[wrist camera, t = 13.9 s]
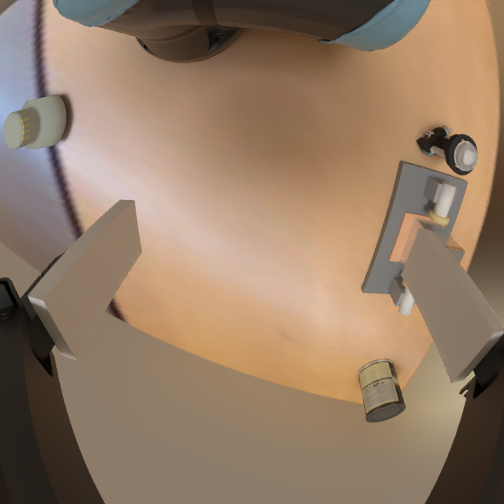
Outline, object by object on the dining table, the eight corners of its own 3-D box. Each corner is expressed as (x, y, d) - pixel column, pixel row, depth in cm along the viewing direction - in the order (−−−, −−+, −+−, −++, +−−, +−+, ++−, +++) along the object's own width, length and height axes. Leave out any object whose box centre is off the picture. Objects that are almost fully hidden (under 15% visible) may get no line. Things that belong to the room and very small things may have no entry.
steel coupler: (399, 259, 41) (420, 294, 34) (414, 217, 37) (441, 248, 29) (421, 261, 41) (443, 294, 33) (437, 221, 37) (464, 251, 29)
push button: (438, 112, 29) (479, 124, 20) (452, 141, 31) (491, 159, 22) (409, 134, 31) (447, 149, 23) (425, 162, 33) (461, 185, 25)
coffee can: (400, 360, 60) (413, 404, 48) (377, 380, 65) (386, 422, 54) (373, 356, 59) (385, 404, 47) (350, 377, 64) (357, 422, 52)
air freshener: (75, 91, 30) (32, 99, 21) (74, 139, 34) (34, 157, 26) (34, 99, 29) (-6, 110, 21) (34, 142, 34) (-4, 159, 25)
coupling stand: (400, 160, 34) (424, 176, 27) (463, 179, 34) (490, 197, 27) (361, 288, 47) (371, 318, 41) (420, 291, 47) (434, 318, 40)
